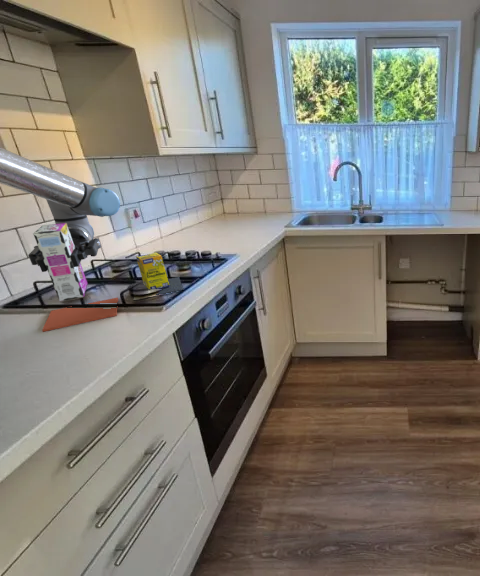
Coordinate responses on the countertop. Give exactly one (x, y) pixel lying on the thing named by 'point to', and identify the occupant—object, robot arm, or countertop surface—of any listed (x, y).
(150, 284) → the supplement box
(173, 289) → the slate mat
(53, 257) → the candy bar box
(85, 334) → the countertop surface
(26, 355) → the countertop surface
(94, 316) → the terracotta mat
